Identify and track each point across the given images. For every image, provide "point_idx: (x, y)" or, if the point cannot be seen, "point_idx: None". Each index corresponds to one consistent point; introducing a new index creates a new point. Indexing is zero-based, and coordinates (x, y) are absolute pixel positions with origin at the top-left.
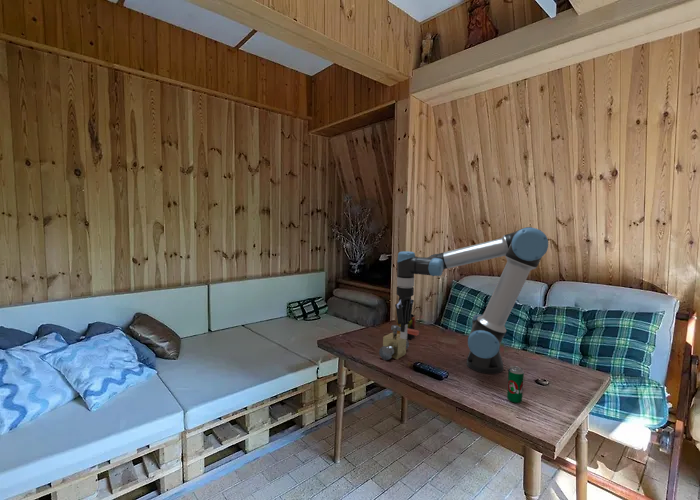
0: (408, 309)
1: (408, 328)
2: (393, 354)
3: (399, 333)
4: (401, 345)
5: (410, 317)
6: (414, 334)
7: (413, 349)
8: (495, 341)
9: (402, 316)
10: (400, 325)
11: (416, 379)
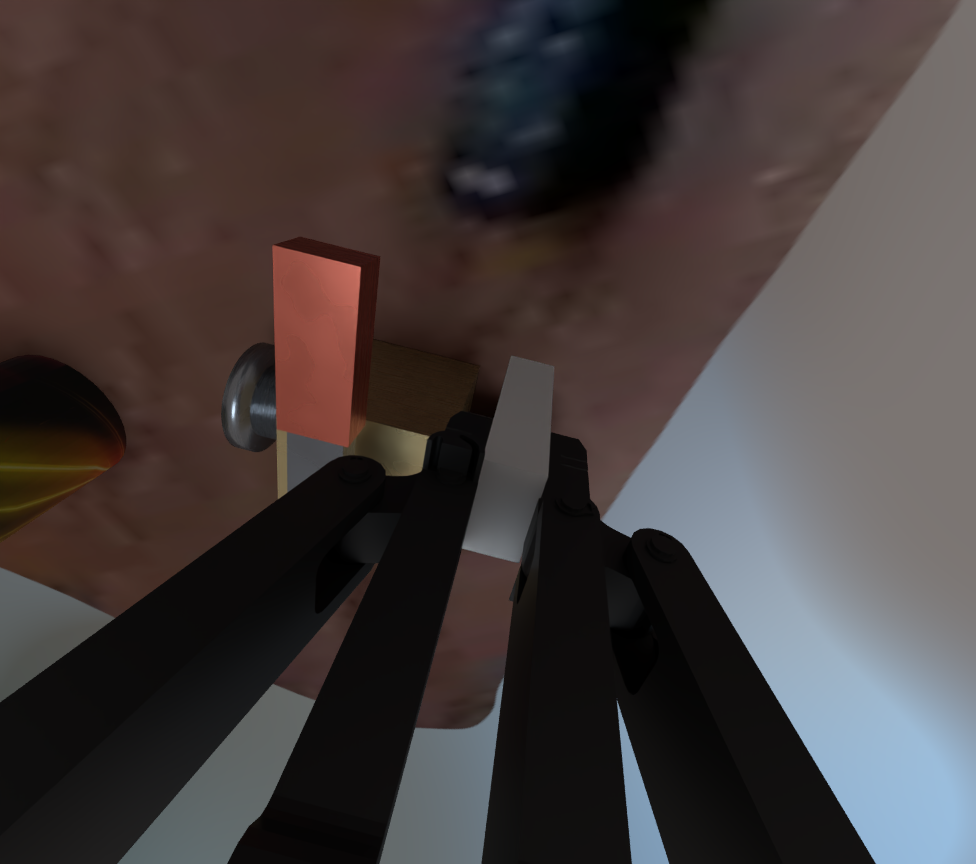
0: (316, 801)
1: (281, 414)
2: (468, 409)
3: (94, 465)
4: (396, 390)
5: (302, 501)
6: (374, 292)
7: (231, 301)
8: None
9: (759, 734)
10: (31, 499)
11: (831, 97)
